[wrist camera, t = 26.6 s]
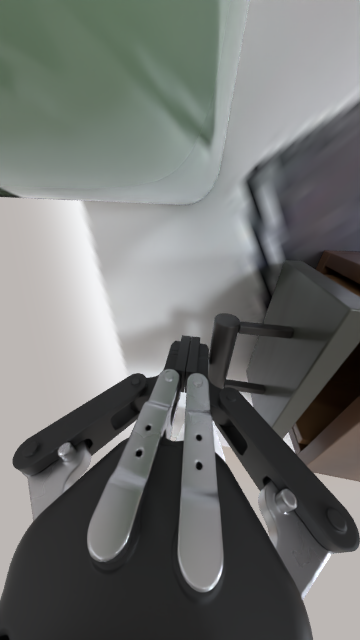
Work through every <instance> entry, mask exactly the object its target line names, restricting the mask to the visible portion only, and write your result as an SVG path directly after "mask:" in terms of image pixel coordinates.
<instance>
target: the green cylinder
mask: <svg viewBox="0 0 360 640" xmlns="http://www.w3.org/2000/svg"><path fill="white" fill-rule="evenodd" d="M249 2H250V0H0V197H15V198H38V199H62V200H83V201H106V202H129V203H152V204H174V205H190V204H194V203H196V202H198V201H200V200H201V199H203V198H204V197H205V196H206V195H207V194H208V193H209V192H210V191H211V189H212V188H213V186H214V184H215V182H216V180H217V178H218V175H219V172H220V167H221V162H222V156H223V150H224V145H225V139H226V133H227V127H228V122H229V116H230V110H231V105H232V99H233V93H234V87H235V82H236V76H237V70H238V65H239V59H240V53H241V48H242V42H243V36H244V30H245V25H246V19H247V13H248V8H249Z"/></svg>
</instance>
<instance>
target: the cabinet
mask: <svg viewBox="0 0 360 640" xmlns="http://www.w3.org/2000/svg"><path fill="white" fill-rule="evenodd" d="M316 270H317V271H319V272H320V273H322V274H323V275H340V276H346V277H348V278H349V279H351V280H353V281H355V282H357V283H359V284H360V252H353V251H329V250H325V251H324V252H323V254H322V257H321V259H320V261H319V263H318V265H317V267H316ZM289 435H290V438H291V441H292V444H293V447H294V450H295V453H296V455H297V456H298V457H299V458H300V459H301V460H302V461H303V462H304V464H305V465H306V466H307V467H308V468H309V469H310V470H311V471H312V472H314V473H319V474H324V475H329V476H334V477H340V478H345V479H349V480H354V481H359V482H360V396H359V397H358V398H356V399H355V400H354V401H353V402H352V403H351V404H350V405H349V406H348V407H347V408H346V409H345V410H344V411H343V412H342V413H341V414H340V415H339V416H338V417H337V418H336V419H335V420H334V421H333V422H332V423H330V424H329V425H328V426H327V427H326V428H325V429H324V430H323V431H322V432H321V433H320V434H319V435H318V436H317V437H316V438H315V439H314V440H313V441H312V442H311V443H310V444H309V445H307V444H301V443H298V441H297V438H296V435H295V432H294V429H293V427H292V428H291V429H290V430H289Z"/></svg>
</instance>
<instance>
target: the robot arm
mask: <svg viewBox="0 0 360 640" xmlns="http://www.w3.org/2000/svg"><path fill="white" fill-rule="evenodd" d="M208 359H209V349H208V347H207V345H206V344H200V337H191V336H183V335H182V338H181V341H175V342H174V343H173V344H172V345H171V348H170V351H169V355H168V358H167V361H166V364H165V368H164V370H163V371H162V372H161V373H160V375H158V376H156V377H150V378H146V377H145V376H144V375H143V374H140V373H136V374H133V375H131V376H129V377H127V378H126V379H124V380H122V381H121V382H119V383H118V384H116V385H114V386H113V387H111V388H109V389H108V390H106V391H105V392H103V393H102V394H100V395H98V396H96V397H95V398H93V399H92V400H90V401H88V402H87V403H85V404H83V405H82V406H80V407H79V408H77V409H76V410H74V411H72V412H71V413H69V414H67V415H66V416H64V417H62V418H61V419H59V420H58V421H56V422H54V423H53V424H51V425H50V426H48V427H46V428H45V429H43V430H41V431H40V432H38V433H37V434H35V435H33V436H32V437H30V438H28V439H27V440H26V441H25V442H23V444H21V445H20V447H19V448H18V449H17V451H16V452H15V454H14V457H13V465H14V467H15V468H16V469H18V470H20V471H21V472H22V473H23V474H24V475H25V476H27V478H28V485H29V492H30V499H31V507H32V514H33V523H32V524H31V525H30V527H29V528H28V529H27V531H26V532H25V534H24V536H23V537H22V539H21V541H20V543H19V545H18V547H17V549H16V551H15V553H14V556H13V558H12V561H11V564H10V567H9V571H8V574H7V579H6V582H5V586H4V590H3V593H2V596H1V600H0V640H313V637H312V631H311V626H310V622H309V619H308V615H307V612H306V609H305V605H304V603H303V599H304V597H305V595H306V594H307V592H308V591H309V589H310V587H311V586H312V584H313V583H314V581H315V579H316V578H317V576H318V574H319V573H320V571H321V570H322V568H323V567H324V565H325V563H326V562H327V560H328V558H329V557H330V555H331V554H334V553H342V552H352V551H355V550H356V549H357V548H358V546H359V542H360V538H359V533H358V529H357V527H356V524H355V522H354V520H353V518H352V517H351V516H350V514H349V513H348V511H347V510H346V509H345V507H344V506H343V505H342V504H341V503H340V502H339V501H338V500H337V499H336V498H335V496H334V495H333V494H332V493H331V492H330V491H329V490H328V489H327V488H326V487H325V486H324V484H323V483H322V482H321V481H320V480H319V479H318V478H317V477H316V476H315V474H314V473H313V472H312V471H311V470H310V469H309V468H308V467H307V466H306V465H305V464H304V462H303V461H302V460H301V459H300V458H299V457H298V456H297V455H296V454H295V453H294V451H293V450H292V449H291V448H290V447H289V446H288V445H287V444H286V443H285V442H284V441H283V439H282V438H281V437H280V436H279V435H278V434H277V433H276V432H275V431H274V430H273V428H272V427H271V426H270V425H269V424H268V423H267V422H266V421H265V420H264V419H263V418H262V416H261V415H260V414H259V413H258V412H257V411H256V410H255V409H254V408H253V407H252V405H251V404H250V403H249V402H248V401H247V400H246V399H245V398H244V397H243V396H242V395H241V393H240V392H239V391H237V390H236V389H234V388H231V387H226V388H223V389H221V388H219V387H216V386H215V385H213V384H212V383H211V382H210V380H209V378H208ZM184 388H185V393H187V395H186V411H185V427H184V440H183V441H171V440H170V437H171V431H172V426H173V422H174V418H175V415H176V411H177V407H178V403H179V399H180V393H181V392H184ZM136 420H137V421H136ZM134 421H136V424H135V426H134V428H133V430H132V433H131V435H130V437H129V438H127V439H125V440H123V441H122V442H121V443H119V444H118V445H117V446H116V447H115V448H113V449H112V450H111V451H110V452H109V453H108V454H107V455H106V456H104V457H103V458H102V459H101V460H100V461H99V462H98V463H97V464H96V465H94V466H93V467H92V468H91V469H90V470H89V471H88V472H86V473H85V474H84V475H83V476H82V477H81V478H80V476H81V475H82V474H83V473H84V472H85V471H86V470H87V468H88V467H89V465H90V462H91V456H92V455H93V454H94V453H96V452H97V451H98V450H99V449H101V448H102V447H103V446H104V445H106V444H107V443H108V442H109V441H111V440H112V439H113V438H114V437H116V436H117V435H118V434H119V433H121V432H122V431H123V430H124V429H126V428H127V427H128V426H129V425H131V424H132V423H133V422H134ZM213 421H214V422H215V425H216V426H217V428H218V429H219V431H220V432H221V434H222V435H223V437H224V438H225V440H226V441H227V443H228V444H229V445H230V447H231V448H232V450H233V451H234V453H235V454H236V456H237V457H238V459H239V460H240V462H241V463H242V465H243V466H244V468H245V469H246V471H247V472H248V474H249V475H250V477H251V478H252V479H253V481H254V483H255V484H256V486H257V487H258V489H259V490H260V493H259V497H258V503H259V508H260V511H261V514H262V516H263V518H264V520H265V522H266V525H267V527H268V532H269V536H268V534H267V533H266V531H265V529H264V528H263V526H262V524H261V522H260V521H259V519H258V517H257V515H256V514H255V512H254V510H253V509H252V507H251V505H250V503H249V501H248V500H247V498H246V496H245V495H244V493H243V491H242V489H241V488H240V486H239V484H238V482H237V481H236V479H235V477H234V475H233V474H232V472H231V470H230V469H229V467H228V465H227V464H226V463H225V461H224V460H223V459H222V458H221V457H220V456H219V455H218V454H217V453H216V452H215V448H214V433H213ZM79 478H80V479H79Z"/></svg>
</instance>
